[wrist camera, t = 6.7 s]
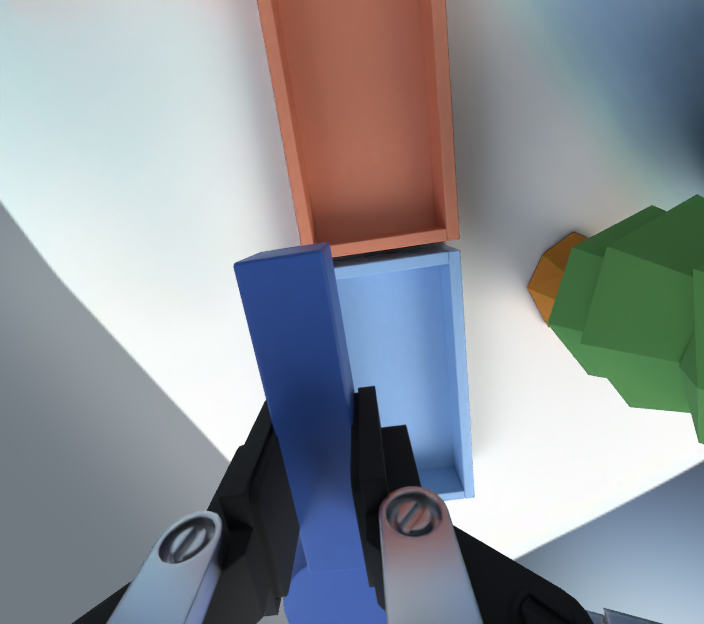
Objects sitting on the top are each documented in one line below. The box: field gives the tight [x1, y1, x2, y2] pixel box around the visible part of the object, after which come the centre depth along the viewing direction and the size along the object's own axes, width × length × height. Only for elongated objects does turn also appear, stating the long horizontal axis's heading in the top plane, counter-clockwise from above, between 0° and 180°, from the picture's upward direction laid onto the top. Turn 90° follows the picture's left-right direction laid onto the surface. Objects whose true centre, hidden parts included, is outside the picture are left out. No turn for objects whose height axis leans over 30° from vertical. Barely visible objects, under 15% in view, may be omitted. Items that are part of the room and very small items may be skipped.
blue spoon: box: [234, 242, 387, 624], centre depth 10 cm, size 4×13×2 cm, turn 9°
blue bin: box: [333, 245, 475, 501], centre depth 24 cm, size 9×17×3 cm, turn 8°
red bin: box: [257, 0, 459, 257], centre depth 19 cm, size 9×17×3 cm, turn 8°
